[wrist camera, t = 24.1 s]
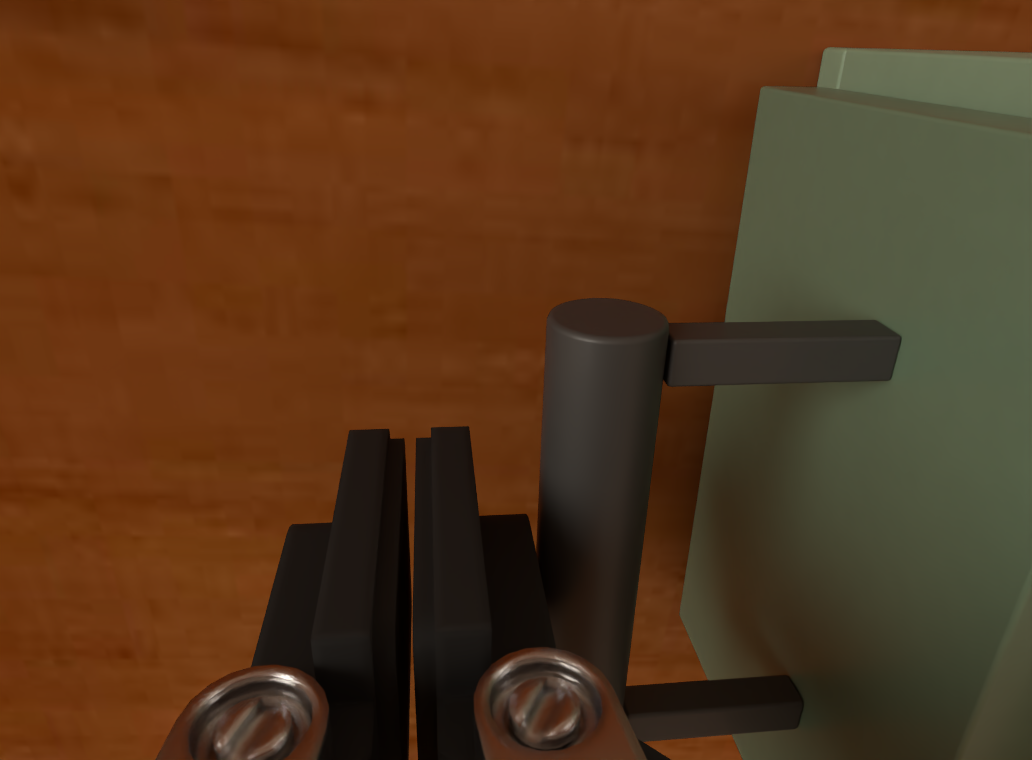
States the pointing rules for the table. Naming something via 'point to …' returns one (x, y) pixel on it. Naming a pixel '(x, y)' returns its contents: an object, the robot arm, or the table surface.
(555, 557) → the drawer
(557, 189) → the table surface
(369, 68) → the table surface
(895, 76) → the cabinet
